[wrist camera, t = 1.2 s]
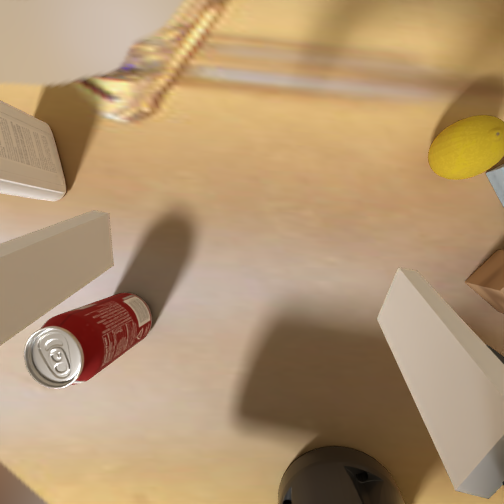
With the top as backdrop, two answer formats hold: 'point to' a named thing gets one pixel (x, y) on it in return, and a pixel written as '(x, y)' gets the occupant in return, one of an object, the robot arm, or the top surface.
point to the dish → (497, 181)
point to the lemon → (467, 147)
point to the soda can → (86, 340)
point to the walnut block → (490, 281)
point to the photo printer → (28, 157)
